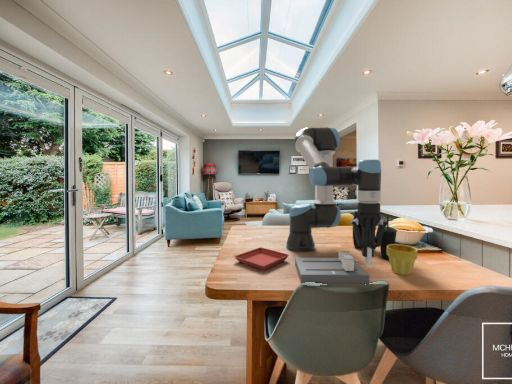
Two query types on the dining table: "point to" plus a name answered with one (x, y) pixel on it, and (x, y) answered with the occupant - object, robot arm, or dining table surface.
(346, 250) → the block
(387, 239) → the black bottle
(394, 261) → the plant pot
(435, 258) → the dining table surface
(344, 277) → the fader board
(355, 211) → the portable speaker
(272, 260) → the plant saucer
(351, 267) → the fader front
